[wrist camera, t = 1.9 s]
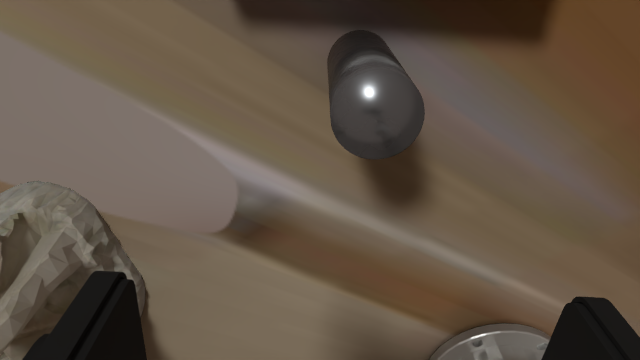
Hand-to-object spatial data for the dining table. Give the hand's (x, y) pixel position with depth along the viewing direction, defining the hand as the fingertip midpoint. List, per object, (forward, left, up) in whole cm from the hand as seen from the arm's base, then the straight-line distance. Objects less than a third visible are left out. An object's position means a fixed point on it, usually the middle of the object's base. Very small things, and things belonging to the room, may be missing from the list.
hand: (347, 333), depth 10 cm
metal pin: (-2, -1, -21) cm, 21 cm away
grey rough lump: (+22, +17, -21) cm, 35 cm away
